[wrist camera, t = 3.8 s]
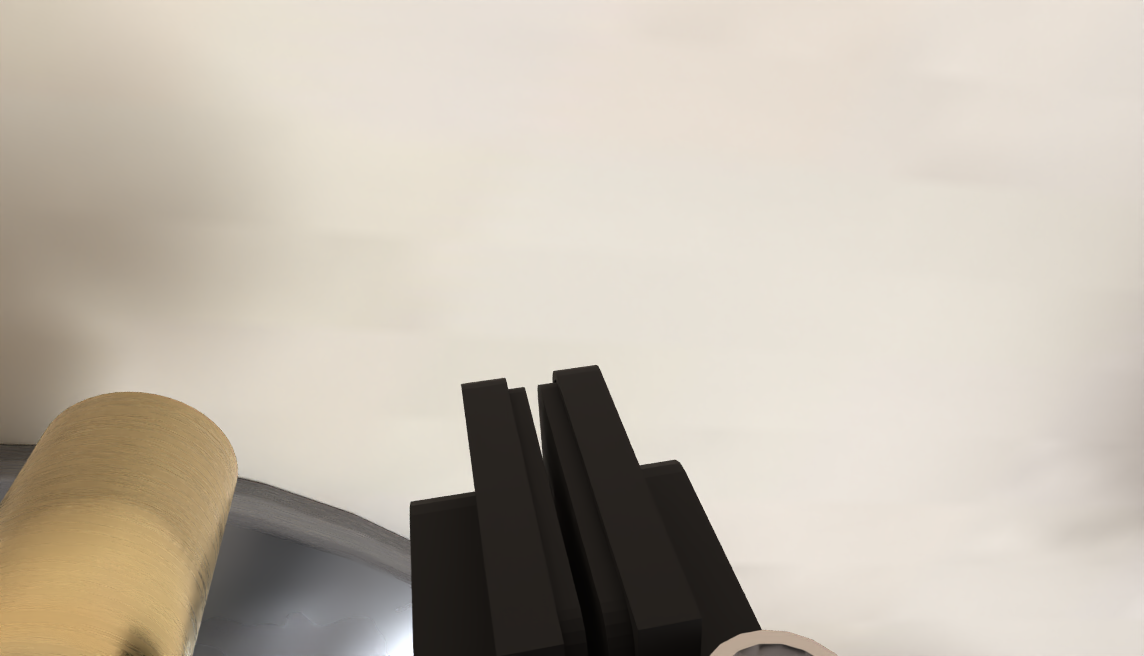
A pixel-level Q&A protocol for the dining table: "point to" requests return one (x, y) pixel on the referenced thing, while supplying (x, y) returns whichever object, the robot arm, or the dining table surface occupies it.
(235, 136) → the dining table surface
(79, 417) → the gold l-shaped piece
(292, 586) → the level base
